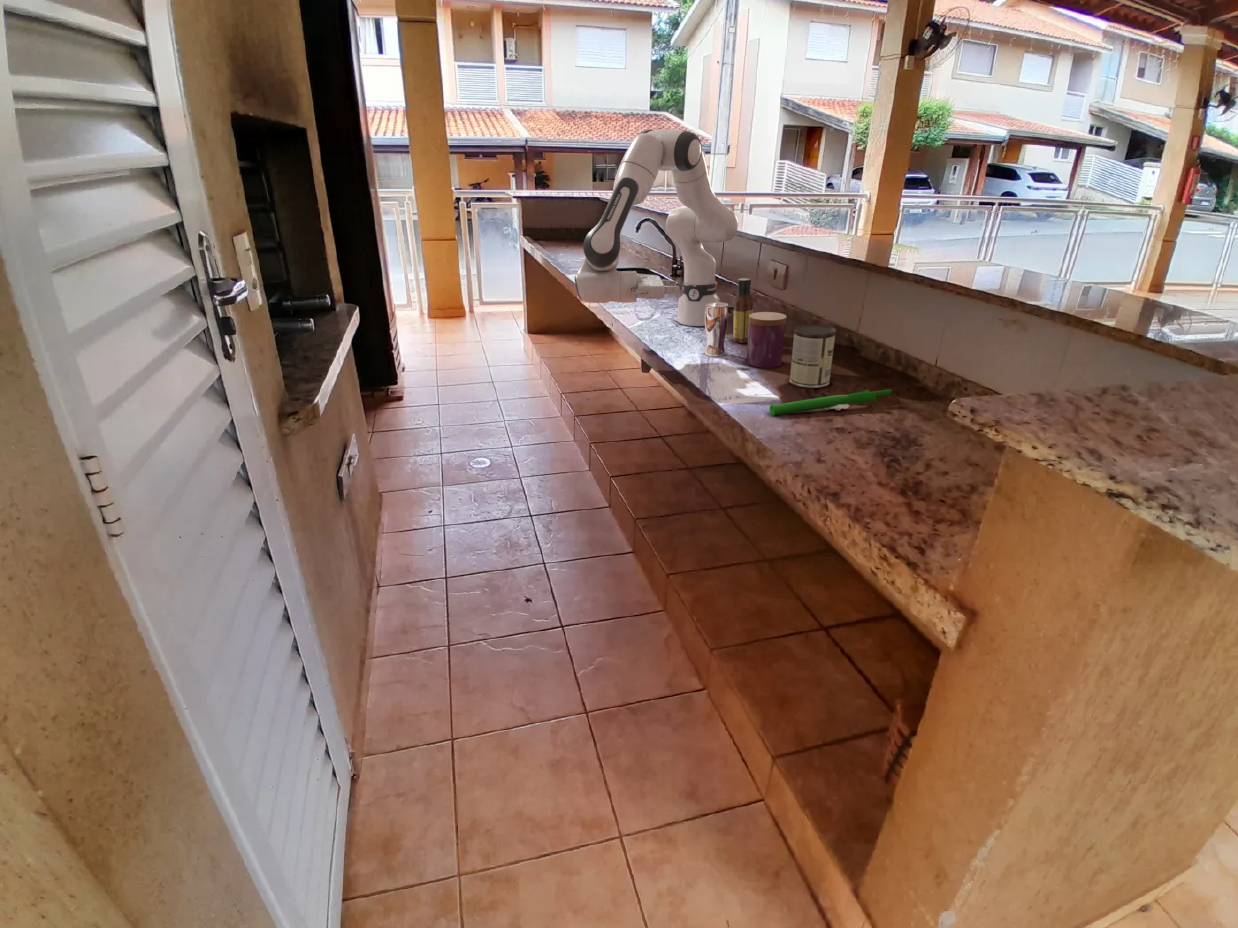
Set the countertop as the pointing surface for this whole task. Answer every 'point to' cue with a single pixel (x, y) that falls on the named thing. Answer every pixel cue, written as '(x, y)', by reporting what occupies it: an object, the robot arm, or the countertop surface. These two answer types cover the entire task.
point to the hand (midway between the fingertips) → (677, 286)
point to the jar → (765, 339)
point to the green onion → (828, 402)
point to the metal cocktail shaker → (716, 328)
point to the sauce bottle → (742, 311)
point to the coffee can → (812, 355)
